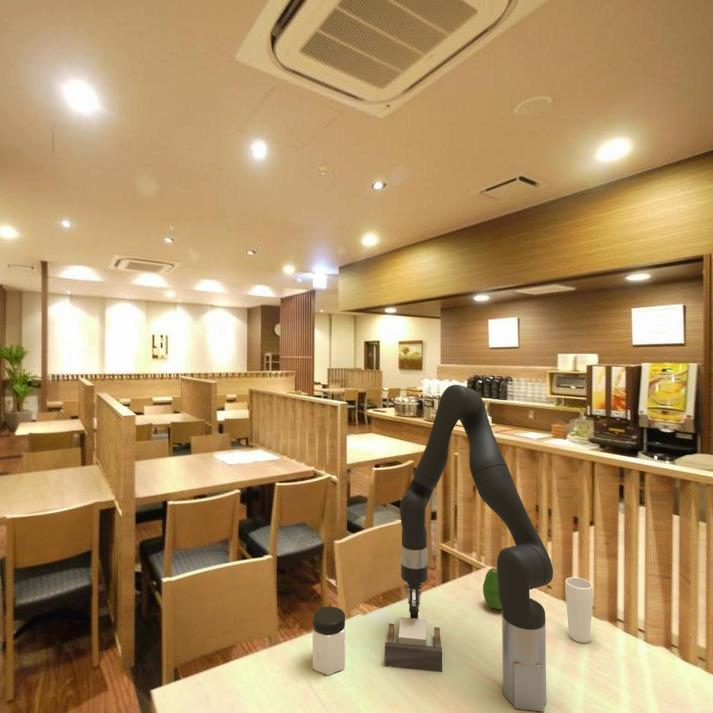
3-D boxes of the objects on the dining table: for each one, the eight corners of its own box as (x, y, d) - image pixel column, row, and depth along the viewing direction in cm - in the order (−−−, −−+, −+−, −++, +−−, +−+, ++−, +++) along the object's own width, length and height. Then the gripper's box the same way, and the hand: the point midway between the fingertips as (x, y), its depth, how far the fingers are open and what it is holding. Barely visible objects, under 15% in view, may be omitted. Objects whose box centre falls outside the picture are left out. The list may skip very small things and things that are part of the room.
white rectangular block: (426, 657, 111) (426, 639, 111) (398, 655, 112) (398, 637, 112) (426, 636, 120) (425, 619, 120) (400, 634, 121) (400, 617, 121)
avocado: (477, 604, 136) (477, 565, 137) (497, 599, 139) (497, 561, 140) (495, 618, 129) (494, 577, 129) (515, 612, 132) (515, 572, 132)
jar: (304, 667, 108) (304, 618, 108) (323, 648, 115) (323, 602, 115) (335, 680, 103) (335, 628, 104) (352, 660, 110) (352, 612, 111)
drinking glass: (587, 631, 122) (586, 577, 123) (598, 646, 116) (597, 589, 116) (562, 629, 123) (561, 576, 123) (571, 645, 116) (570, 588, 117)
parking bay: (442, 671, 106) (442, 651, 106) (385, 666, 108) (384, 645, 108) (439, 636, 120) (439, 618, 120) (388, 632, 122) (388, 614, 122)
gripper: (427, 573, 116) (427, 639, 116) (427, 552, 129) (427, 611, 129) (399, 571, 117) (399, 636, 117) (402, 550, 130) (401, 609, 130)
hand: (414, 623), depth 123 cm, fingers closed
